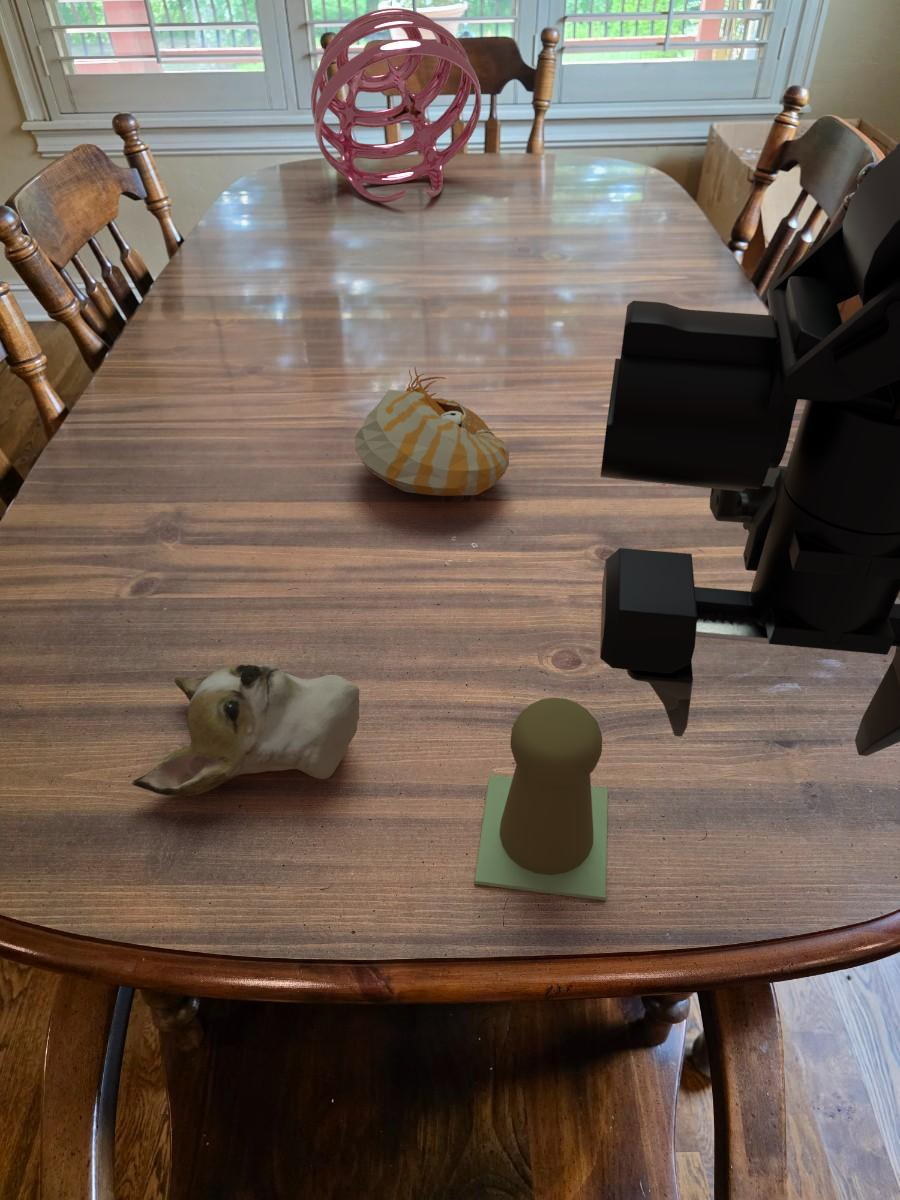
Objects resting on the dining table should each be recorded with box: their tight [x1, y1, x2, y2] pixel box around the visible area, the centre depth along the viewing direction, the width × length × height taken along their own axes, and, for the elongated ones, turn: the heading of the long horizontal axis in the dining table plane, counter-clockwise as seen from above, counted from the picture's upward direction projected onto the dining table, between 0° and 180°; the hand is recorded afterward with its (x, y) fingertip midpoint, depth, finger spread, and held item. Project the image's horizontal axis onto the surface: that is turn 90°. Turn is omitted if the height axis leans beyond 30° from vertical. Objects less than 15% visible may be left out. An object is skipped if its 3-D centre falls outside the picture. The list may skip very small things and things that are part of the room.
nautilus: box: [354, 366, 510, 497], centre depth 86 cm, size 8×22×15 cm
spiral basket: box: [310, 7, 482, 204], centre depth 143 cm, size 28×28×27 cm
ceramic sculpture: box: [131, 663, 360, 797], centre depth 58 cm, size 11×9×15 cm
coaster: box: [474, 774, 609, 902], centre depth 56 cm, size 8×8×1 cm
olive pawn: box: [499, 697, 603, 875], centre depth 52 cm, size 6×6×11 cm
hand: (767, 738), depth 45 cm, fingers open, 9 cm apart
